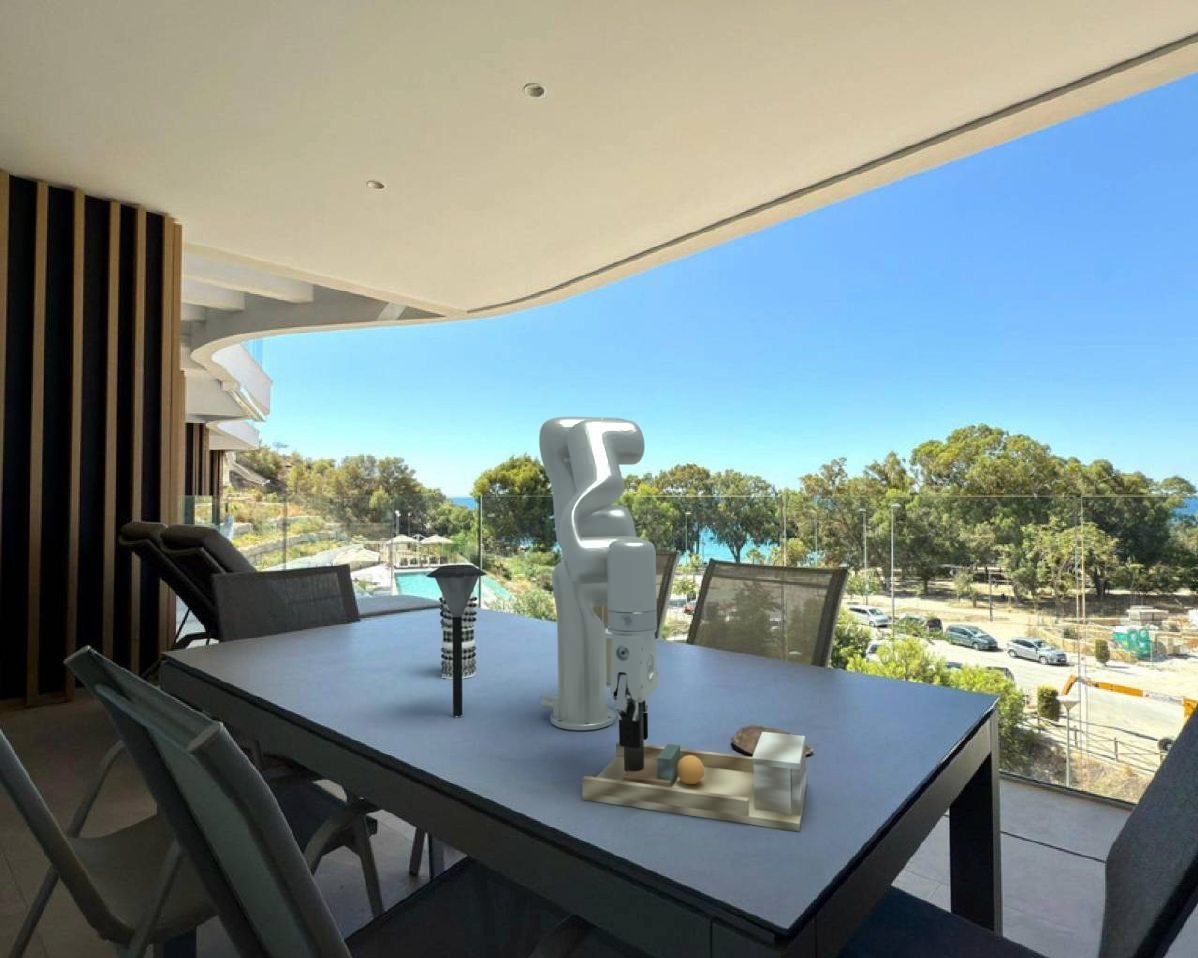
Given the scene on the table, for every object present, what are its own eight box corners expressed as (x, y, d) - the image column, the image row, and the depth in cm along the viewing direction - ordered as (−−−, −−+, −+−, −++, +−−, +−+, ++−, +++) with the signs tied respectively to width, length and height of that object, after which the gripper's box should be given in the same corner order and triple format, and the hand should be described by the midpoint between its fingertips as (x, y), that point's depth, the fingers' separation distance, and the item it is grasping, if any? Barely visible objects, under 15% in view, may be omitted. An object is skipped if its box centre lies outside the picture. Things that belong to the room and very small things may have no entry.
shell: (761, 768, 111) (760, 745, 111) (718, 743, 123) (717, 722, 123) (818, 757, 116) (818, 735, 116) (772, 733, 127) (771, 714, 127)
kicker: (616, 782, 102) (615, 709, 102) (632, 763, 109) (631, 694, 110) (669, 790, 99) (668, 714, 100) (682, 769, 107) (681, 699, 107)
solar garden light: (501, 714, 139) (499, 565, 140) (450, 730, 130) (449, 570, 131) (463, 703, 148) (462, 562, 148) (413, 717, 138) (413, 566, 139)
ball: (674, 786, 101) (673, 759, 101) (680, 776, 105) (680, 749, 105) (701, 790, 100) (700, 762, 100) (706, 779, 103) (706, 752, 103)
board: (582, 799, 99) (582, 744, 100) (618, 759, 114) (617, 712, 115) (799, 831, 89) (798, 770, 89) (807, 783, 104) (806, 730, 104)
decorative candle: (470, 681, 166) (469, 576, 166) (433, 680, 167) (433, 576, 168) (482, 671, 175) (482, 572, 176) (447, 670, 176) (447, 572, 177)
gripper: (639, 632, 97) (641, 765, 96) (669, 613, 112) (671, 728, 112) (589, 629, 100) (591, 758, 99) (625, 611, 115) (627, 723, 114)
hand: (633, 741), depth 105 cm, fingers closed on kicker, 3 cm apart
